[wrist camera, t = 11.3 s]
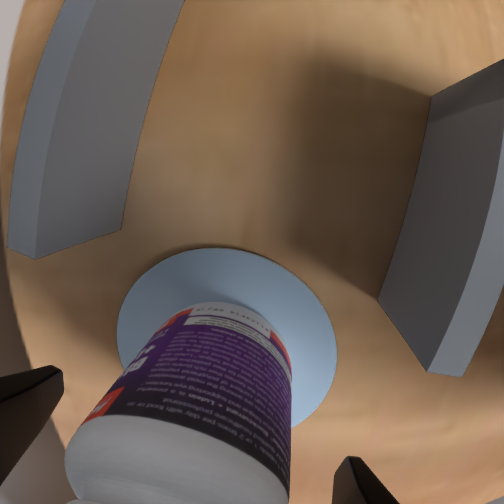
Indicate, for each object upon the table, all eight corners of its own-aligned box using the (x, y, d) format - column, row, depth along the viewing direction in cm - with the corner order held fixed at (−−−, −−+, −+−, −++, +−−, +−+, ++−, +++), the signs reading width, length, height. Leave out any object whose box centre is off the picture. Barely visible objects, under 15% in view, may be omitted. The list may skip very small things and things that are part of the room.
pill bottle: (163, 282, 12) (-40, 470, 2) (308, 316, 11) (332, 604, 2) (153, 394, 13) (47, 572, 3) (273, 424, 13) (248, 636, 3)
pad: (369, 285, 11) (371, 287, 11) (293, 453, 13) (293, 457, 13) (134, 220, 12) (130, 221, 11) (115, 400, 14) (113, 404, 13)
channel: (574, 21, 7) (621, 2, 2) (534, 340, 11) (590, 387, 6) (225, -119, 7) (208, -177, 3) (95, 222, 12) (6, 247, 7)
